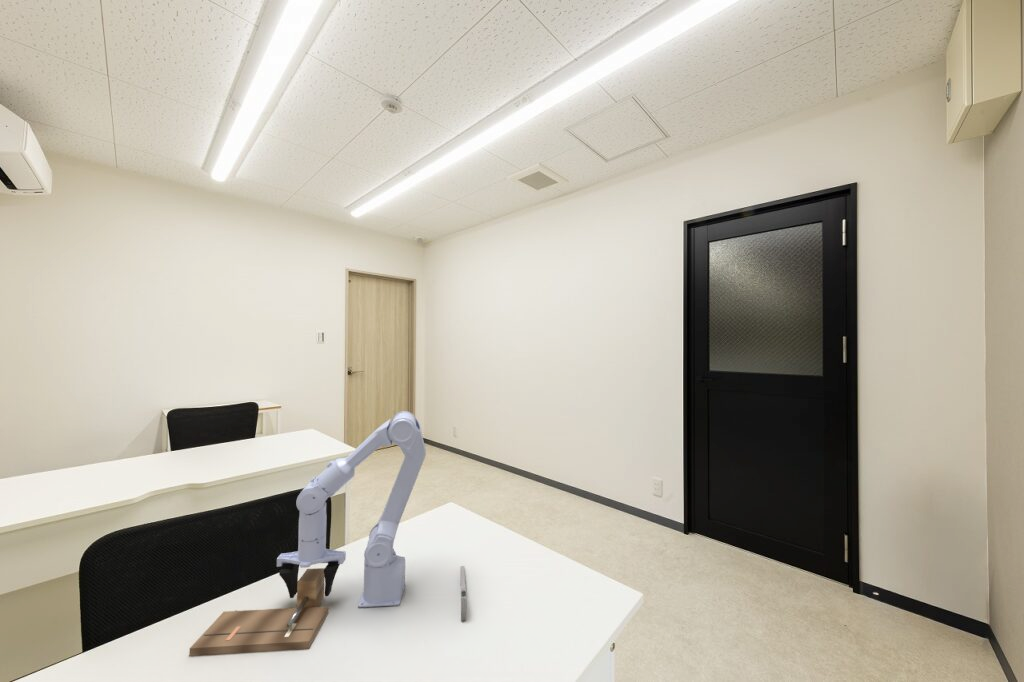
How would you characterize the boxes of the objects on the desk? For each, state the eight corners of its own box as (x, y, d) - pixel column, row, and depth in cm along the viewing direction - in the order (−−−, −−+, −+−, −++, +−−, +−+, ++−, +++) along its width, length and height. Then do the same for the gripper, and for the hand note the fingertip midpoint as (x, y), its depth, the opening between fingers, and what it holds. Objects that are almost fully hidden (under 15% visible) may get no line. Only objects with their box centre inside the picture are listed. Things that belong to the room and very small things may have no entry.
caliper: (465, 623, 83) (466, 594, 83) (460, 623, 83) (461, 594, 83) (464, 568, 103) (464, 545, 103) (460, 568, 103) (460, 545, 103)
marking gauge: (323, 597, 90) (324, 568, 90) (298, 640, 77) (299, 605, 77) (306, 598, 89) (307, 568, 89) (278, 641, 76) (279, 606, 76)
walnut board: (328, 612, 85) (328, 605, 85) (309, 648, 75) (309, 640, 75) (223, 618, 82) (223, 611, 82) (189, 656, 72) (189, 647, 72)
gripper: (270, 545, 82) (268, 608, 82) (338, 543, 84) (337, 604, 84) (286, 530, 89) (284, 587, 89) (349, 528, 91) (347, 584, 91)
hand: (310, 594), depth 87 cm, fingers open, 7 cm apart
